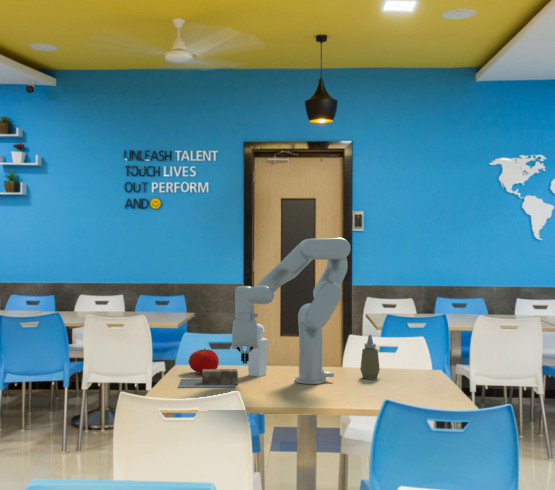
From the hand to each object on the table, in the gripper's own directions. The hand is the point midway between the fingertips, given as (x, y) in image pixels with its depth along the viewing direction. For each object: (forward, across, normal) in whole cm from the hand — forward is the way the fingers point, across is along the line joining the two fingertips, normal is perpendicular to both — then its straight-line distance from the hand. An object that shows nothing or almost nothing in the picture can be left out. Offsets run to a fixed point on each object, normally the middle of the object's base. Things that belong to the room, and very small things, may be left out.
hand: (244, 363), depth 232 cm
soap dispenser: (+8, -6, -17) cm, 20 cm away
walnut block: (+5, +3, 0) cm, 6 cm away
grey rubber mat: (+8, +15, 0) cm, 17 cm away
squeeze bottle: (+9, -53, -9) cm, 54 cm away
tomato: (+8, +17, -22) cm, 29 cm away
